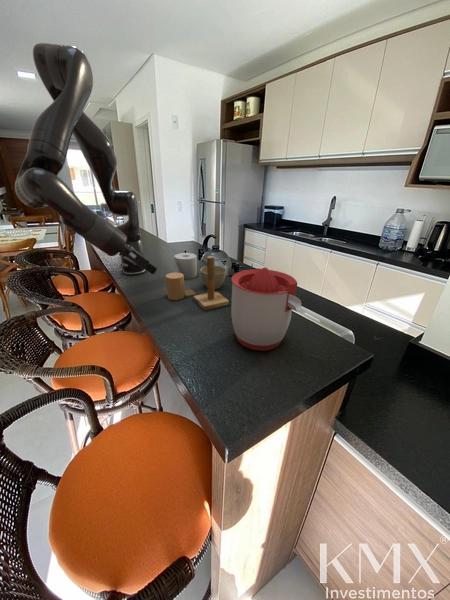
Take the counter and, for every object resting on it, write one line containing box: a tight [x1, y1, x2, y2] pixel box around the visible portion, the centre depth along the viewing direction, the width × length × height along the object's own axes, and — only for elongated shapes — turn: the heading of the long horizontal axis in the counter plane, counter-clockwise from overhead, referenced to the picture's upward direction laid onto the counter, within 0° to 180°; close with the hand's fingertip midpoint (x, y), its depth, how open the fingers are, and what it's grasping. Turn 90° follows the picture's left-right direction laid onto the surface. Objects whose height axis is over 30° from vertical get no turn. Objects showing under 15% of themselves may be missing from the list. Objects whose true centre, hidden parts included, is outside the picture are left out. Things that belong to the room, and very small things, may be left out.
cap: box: [165, 272, 198, 301], centre depth 88 cm, size 10×6×8 cm, turn 119°
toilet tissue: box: [173, 252, 198, 280], centre depth 105 cm, size 9×13×9 cm
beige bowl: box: [200, 265, 228, 290], centre depth 96 cm, size 10×10×7 cm
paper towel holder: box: [193, 255, 230, 311], centre depth 82 cm, size 9×9×16 cm
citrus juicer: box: [230, 267, 302, 352], centre depth 62 cm, size 16×17×20 cm
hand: (149, 267), depth 79 cm, fingers open, 8 cm apart
